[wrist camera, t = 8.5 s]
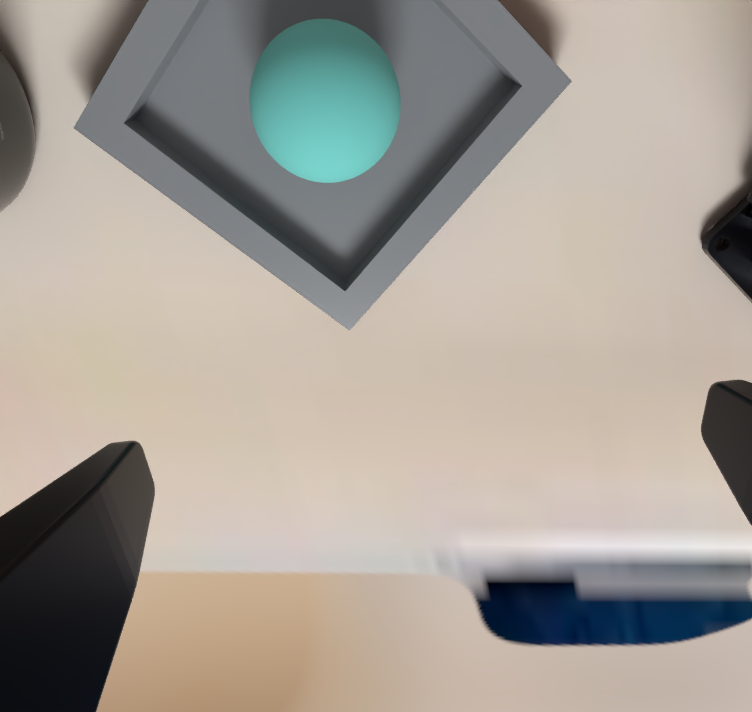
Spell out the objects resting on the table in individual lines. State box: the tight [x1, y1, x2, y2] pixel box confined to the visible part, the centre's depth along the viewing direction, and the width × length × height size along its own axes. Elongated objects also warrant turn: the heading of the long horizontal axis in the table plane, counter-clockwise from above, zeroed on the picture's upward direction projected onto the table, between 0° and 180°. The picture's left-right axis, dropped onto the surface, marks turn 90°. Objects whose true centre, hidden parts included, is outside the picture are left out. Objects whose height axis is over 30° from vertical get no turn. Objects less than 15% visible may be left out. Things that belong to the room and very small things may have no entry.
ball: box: [249, 19, 401, 183], centre depth 16 cm, size 4×4×4 cm
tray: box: [74, 0, 572, 330], centre depth 17 cm, size 10×10×2 cm
